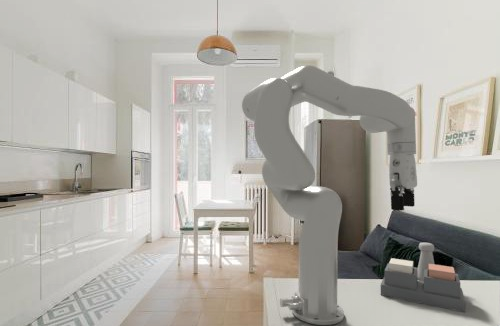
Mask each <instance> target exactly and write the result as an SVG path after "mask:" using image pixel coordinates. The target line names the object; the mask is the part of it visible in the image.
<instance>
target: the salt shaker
mask: <svg viewBox="0 0 500 326" xmlns="http://www.w3.org/2000/svg"><path fill="white" fill-rule="evenodd" d="M418 249H419V250H420V254H419V255H420V256H419V261H418V265H417V268H418V280H419V281H424V269H429V264H435V260H434V254H433V252H434V251H435V245H434V244H433V243H431V242H420V243H419V244H418Z"/></svg>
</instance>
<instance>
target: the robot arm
mask: <svg viewBox="0 0 500 326" xmlns="http://www.w3.org/2000/svg"><path fill="white" fill-rule="evenodd" d="M241 102H242V103H241V107H242V112H243V114H244V116H245V117H246V118H247V119H249V120H250V121H253V123H254V124H253V131H254V133H253V134H254V139H255V141H256V144H257V146H258V148H259V150H260V152H261V153H262V155H263V157H264V158H265V161H264V162H263V165H262V167H261V175H262V180H263V182H264V183H265V186H266V187H267V188H268V190H269V192H270V193H271V194H272V196H273V197H274V198H275V200H276V201H277V203H278V204H279V205H280V207H281V208H282V209H283V211H284V212H285V213H286V214H287V215H289V216H290V217H291V218H292V219H294V220H299V221H303V224H302V228H301V231H300V234H299V237H298V291H295V292H294V295H293V296H291V297H289V298H288V297H284V298H280V299H279V305H280V307H281V308H286V307H288V310H289V311H292V314H293V315H294V316H295V318H297V319H298V320H301V321H302V322H305V323H308V324H312V325H317V326H331V325H336V324H338V323H340V322H342V321H343V320H344V316H345V312H344V311H345V310H344V309H343V308H342V307H341V306H340V305H339V304H338V269H339V268H338V267H339V266H338V257H339V255H338V253H339V250H338V244H339V243H338V241H339V229H340V224H341V219H342V213H343V204H342V203H343V202H342V200H341V197H340V195H339V194H338V193H337V192H336V191H335V190H333V189H331V188H328V187H325V186H318V185H317V186H316V185H313V183H314V182H315V180H316V171H315V168H314V165H313V163H312V162H311V160H310V159H309V158H308V156H307V154H306V153H305V152H304V149H303V148H302V147H301V145H300V144H299V143H298V140H296V138H295V136H294V134H293V132H292V130H291V126H290V118H289V117H290V113H291V108H292V107H294V106H296V105H300V104H302V103H304V102H305V103H308V104H311V105H313V106H316V107H318V108H321V109H322V110H325V111H327V112H328V113H330V114H333V115H336V116H341V117H342V116H344V117H358V116H359V124H360V127H361V129H363V130H364V131H366V132H368V133H370V134H372V133H373V134H377V133H378V134H379V133H383V132H386V145H387V148H386V149H387V150H386V151H387V152H386V154H387V156H389V164H388V165H389V166H388V167H389V168H388V171H389V173H388V177H389V187H390V188H389V190H390V207H391V210H393V211H404V210H405V207H415V188H416V187H417V186H418V178H417V177H418V176H417V163H416V158H415V155H416V154H417V142H416V141H417V140H416V132H417V131H416V112H415V109H414V108H413V107H412V106H411V105H410V104H409V102H407V101H406V100H404V99H403V98H402V97H399V96H398V95H396V94H395V93H392V92H389V91H388V90H383V89H380V88H379V89H378V88H372V87H368V86H367V87H366V86H360V85H354V84H350V83H348V82H346V81H344V80H342V79H340V78H338V77H336V76H334V75H332V74H331V73H329V72H326V71H325V70H323V69H321V68H319V67H317V66H314V65H311V64H310V65H308V64H307V65H303V66H300V67H298V68H296V69H294V70H293V71H290V72H288V73H287V74H285V75H284V76H282V77H273V78H270V79H267V80H266V81H264V82H261V83H260V84H259V85H257V86H256V87H254V88H252V89H251V90H250V91H248V92H247V93H246V94H245V95H244V96H243V99H242V101H241Z"/></svg>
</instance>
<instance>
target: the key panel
mask: <svg viewBox="0 0 500 326" xmlns="http://www.w3.org/2000/svg"><path fill="white" fill-rule="evenodd" d="M383 274H384V276H383V279H382V281H381V283H380V295H381V296H385V297H389V298H394V299H399V300H403V301H409V302H413V303H418V304H424V305H426V306H427V305H428V306H433V307H438V308H442V309H446V310H452V311H457V312H461V313H466V299H465V295H464V292H463V288H462V287H461V280H460V277H459V274H458V273H455V281H452V280H445V279H439V278H433V277H429V269H424V281H419V280H418V267H414V266H413V274H409V273H403V272H397V271H391V270H389V262H388V263H387V264H386V267H385V268H384V273H383Z"/></svg>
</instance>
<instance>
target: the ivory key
mask: <svg viewBox="0 0 500 326" xmlns="http://www.w3.org/2000/svg"><path fill="white" fill-rule="evenodd" d="M388 263H389V270H391V271H397V272H403V273H409V274H413V267H414V261H413V260H407V259H401V258H400V259H399V258H394V257H393V258H392V257H390V260H389V262H388Z"/></svg>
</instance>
